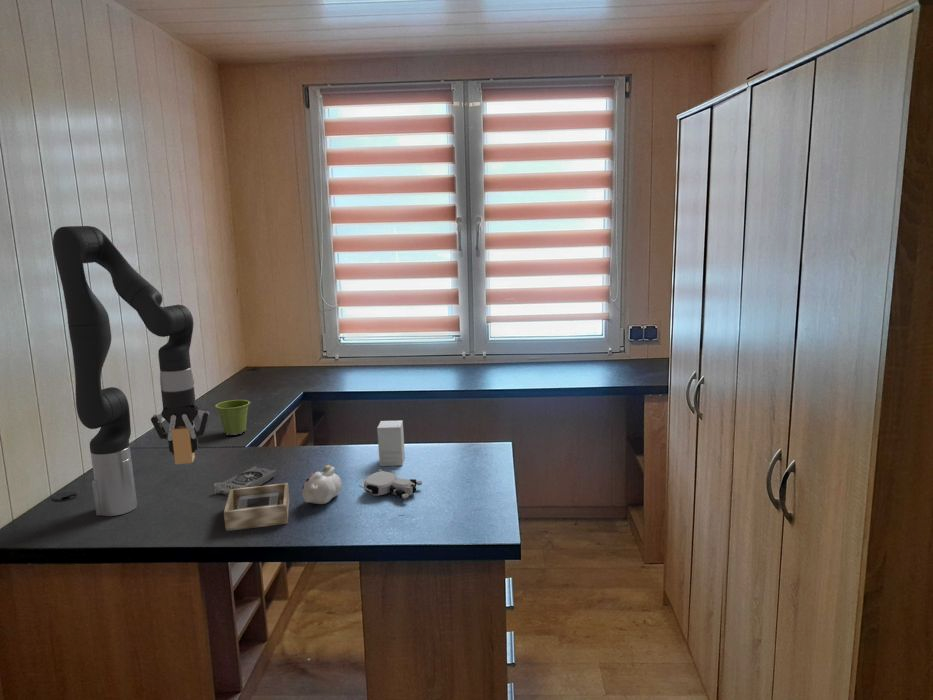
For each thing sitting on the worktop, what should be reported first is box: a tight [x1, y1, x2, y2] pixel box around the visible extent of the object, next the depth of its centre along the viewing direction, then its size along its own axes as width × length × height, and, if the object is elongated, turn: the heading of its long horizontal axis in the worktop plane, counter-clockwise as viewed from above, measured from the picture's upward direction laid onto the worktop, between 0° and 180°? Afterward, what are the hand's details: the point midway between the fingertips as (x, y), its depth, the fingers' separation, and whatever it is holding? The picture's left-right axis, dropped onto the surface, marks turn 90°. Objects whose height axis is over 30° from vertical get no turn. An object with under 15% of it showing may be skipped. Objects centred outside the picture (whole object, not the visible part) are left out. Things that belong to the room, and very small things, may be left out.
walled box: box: [223, 482, 290, 532], centre depth 174 cm, size 15×15×5 cm
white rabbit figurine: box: [301, 464, 343, 505], centre depth 182 cm, size 10×8×15 cm
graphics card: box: [213, 466, 277, 497], centre depth 194 cm, size 17×4×12 cm
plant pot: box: [214, 399, 251, 434], centre depth 242 cm, size 12×12×11 cm
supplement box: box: [376, 420, 406, 467], centre depth 209 cm, size 7×7×13 cm
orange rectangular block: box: [172, 426, 196, 465], centre depth 168 cm, size 4×4×9 cm
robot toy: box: [358, 469, 423, 500], centre depth 186 cm, size 12×4×15 cm
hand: (184, 452), depth 168 cm, fingers closed on orange rectangular block, 4 cm apart
